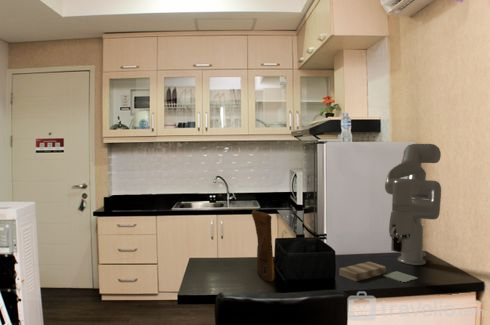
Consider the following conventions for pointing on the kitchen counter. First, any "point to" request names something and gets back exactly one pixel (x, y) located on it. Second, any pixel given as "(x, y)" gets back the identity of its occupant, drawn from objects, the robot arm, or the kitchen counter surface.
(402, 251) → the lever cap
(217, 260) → the kitchen counter surface
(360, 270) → the tan flat block
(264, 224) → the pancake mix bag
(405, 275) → the sage mat
